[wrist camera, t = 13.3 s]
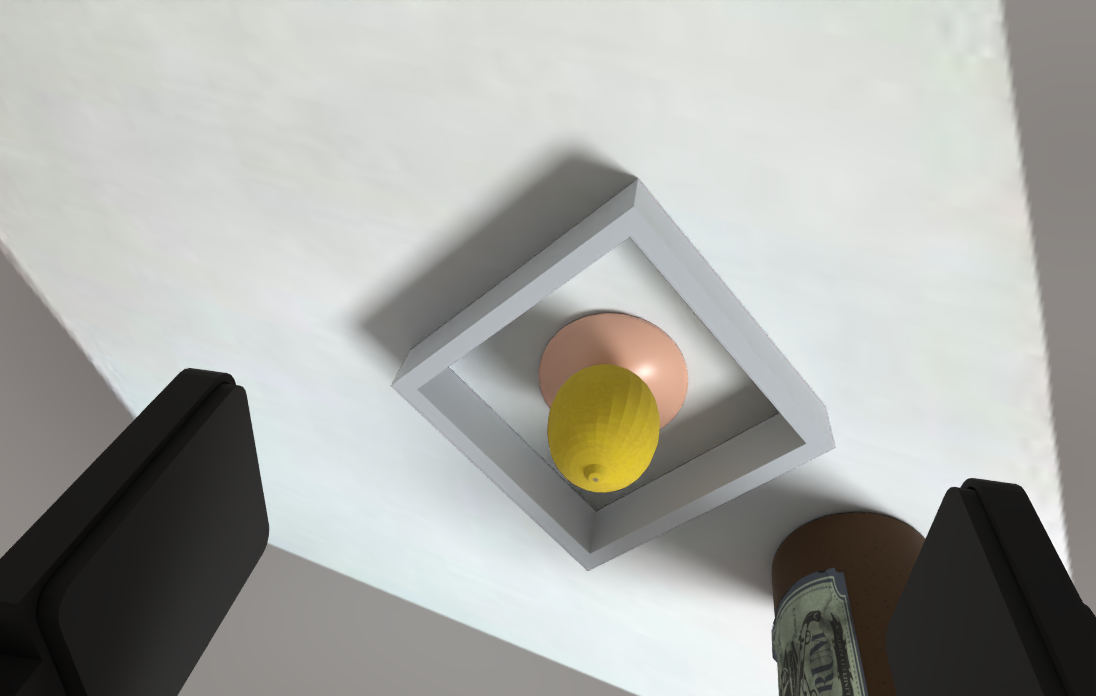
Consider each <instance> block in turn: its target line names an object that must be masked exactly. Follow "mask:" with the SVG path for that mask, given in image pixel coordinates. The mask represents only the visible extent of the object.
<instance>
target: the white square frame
mask: <svg viewBox="0 0 1096 696" xmlns="http://www.w3.org/2000/svg"><path fill="white" fill-rule="evenodd" d="M629 237H631V238H632V240H633V241H634V242H635V243H636V244H637V245H638V247H639V248H640V249H641V250H642V251H643V252H644V254H645V255H646V256H647V257H648V258H649V259H650V261H651V262H652V263H653V264H654V265H655V266H656V268H657V269H658V270H659V271H660V272H661V274H662V275H663V276H664V277H665V278H666V279H667V281H668V282H669V283H670V284H671V285H672V286H673V288H674V289H675V290H676V291H677V292H678V293H679V295H680V296H681V297H682V298H683V299H684V301H685V302H686V303H687V304H688V305H689V306H690V308H691V309H692V310H693V311H694V312H695V313H696V315H697V316H698V317H699V318H700V319H701V320H702V322H703V323H704V324H705V325H706V326H707V328H708V329H709V330H710V331H711V332H712V333H713V335H714V336H715V337H716V338H717V339H718V340H719V342H720V343H721V344H722V345H723V346H724V347H725V349H726V350H727V351H728V352H729V353H730V355H731V356H732V357H733V358H734V359H735V360H736V362H737V363H738V364H739V365H740V366H741V367H742V369H743V370H744V371H745V372H746V373H747V374H748V376H749V377H750V378H751V379H752V380H753V381H754V383H755V384H756V385H757V386H758V387H759V389H760V390H761V391H762V392H763V393H764V394H765V396H766V397H767V398H768V399H769V400H770V401H771V403H772V404H773V405H774V406H775V407H776V408H777V410H778V411H779V412H780V413H778V414H776V415H774V416H773V417H771V418H769V419H767V420H765V421H763V422H761V423H760V424H758V425H756V426H754V427H752V428H750V429H748V430H747V431H745V432H743V433H741V434H739V435H737V436H735V437H733V438H732V439H730V440H728V441H726V442H724V443H722V444H720V445H719V446H717V447H715V448H713V449H711V450H709V451H707V452H706V453H704V454H702V455H700V456H698V457H696V458H694V459H693V460H691V461H689V462H687V463H685V464H683V465H681V466H680V467H678V468H676V469H674V470H672V471H670V472H668V473H667V474H665V475H663V476H661V477H659V478H657V479H655V480H654V481H652V482H650V483H648V484H646V485H644V486H642V487H641V488H639V489H637V490H635V491H633V492H631V493H629V494H628V495H626V496H624V497H622V498H620V499H618V500H616V501H615V502H613V503H611V504H609V505H607V506H605V507H603V508H602V509H600V510H598V511H595V510H594V509H593V508H592V507H591V506H590V505H589V504H588V503H587V502H586V501H585V500H584V499H583V498H582V497H581V496H580V495H579V494H578V493H577V492H576V491H575V490H574V489H573V488H571V487H570V486H569V485H568V484H567V483H566V482H565V481H564V480H563V479H562V478H561V477H560V476H559V475H558V474H557V473H556V472H555V471H554V470H553V469H552V468H551V467H550V466H549V465H548V464H547V463H546V462H545V461H544V460H543V459H542V458H541V457H540V456H539V455H538V454H537V453H536V452H535V451H534V450H533V449H532V448H531V447H530V446H529V445H528V444H527V443H526V442H525V441H524V440H523V439H522V438H521V437H520V436H518V435H517V434H516V433H515V432H514V431H513V430H512V429H511V428H510V427H509V426H508V425H507V424H506V423H505V422H504V421H503V420H502V419H501V418H500V417H499V416H498V415H497V414H496V413H495V412H494V411H493V410H492V409H491V408H490V407H489V406H488V405H487V404H486V403H485V402H484V401H483V400H482V399H481V398H480V397H479V396H478V395H477V394H476V393H475V392H474V391H473V390H472V389H471V388H470V387H469V386H468V385H467V384H465V383H464V382H463V381H462V380H461V379H460V378H459V377H458V376H457V375H456V374H455V373H454V372H453V371H452V370H451V369H450V368H449V366H450V365H452V364H453V363H455V362H456V361H457V360H459V359H460V358H462V357H463V356H464V355H466V354H467V353H468V352H470V351H471V350H473V349H474V348H475V347H477V346H478V345H480V344H481V343H482V342H484V341H485V340H487V339H488V338H489V337H491V336H492V335H494V334H495V333H496V332H498V331H499V330H501V329H502V328H503V327H505V326H506V325H507V324H509V323H510V322H512V321H513V320H514V319H516V318H517V317H519V316H520V315H521V314H523V313H524V312H526V311H527V310H528V309H530V308H531V307H533V306H534V305H535V304H537V303H538V302H540V301H541V300H542V299H544V298H545V297H547V296H548V295H549V294H551V293H552V292H553V291H555V290H556V289H558V288H559V287H560V286H562V285H563V284H565V283H566V282H567V281H569V280H570V279H572V278H573V277H574V276H576V275H577V274H579V273H580V272H581V271H583V270H584V269H586V268H587V267H588V266H590V265H591V264H593V263H594V262H595V261H597V260H598V259H599V258H601V257H602V256H604V255H605V254H606V253H608V252H609V251H611V250H612V249H613V248H615V247H616V246H618V245H619V244H620V243H622V242H623V241H625V240H626V239H627V238H629ZM600 364H610V365H617V366H620V367H623V368H626V369H628V370H630V371H631V372H633V373H635V374H636V375H638V376H639V377H640V378H641V379H642V380H643V381H644V382H645V383H646V384H647V385H648V387H649V389H650V390H651V392H652V394H653V395H654V397H655V400H656V403H657V407H658V411H659V415H660V429H661V428H662V427H664V426H665V425H666V424H668V423H669V422H670V421H671V420H672V419H673V418H674V417H675V416H676V414H677V413H678V412H679V410H680V408H681V407H682V405H683V402H684V400H685V397H686V393H687V387H688V373H687V367H686V363H685V360H684V357H683V355H682V353H681V351H680V350H679V348H678V346H677V345H676V344H675V342H674V341H673V340H672V339H671V338H670V337H669V336H668V335H667V334H666V333H665V332H664V331H662V330H661V329H660V328H658V327H657V326H655V325H653V324H651V323H650V322H647V321H645V320H643V319H641V318H637V317H634V316H631V315H625V314H618V313H601V314H594V315H590V316H586V317H583V318H580V319H578V320H575V321H573V322H571V323H570V324H568V325H566V326H565V327H563V328H562V329H561V330H560V331H558V332H557V333H556V334H555V336H554V337H553V338H552V339H551V340H550V342H549V343H548V345H547V347H546V349H545V351H544V353H543V356H542V359H541V363H540V368H539V382H540V388H541V391H542V394H543V397H544V399H545V401H546V403H547V404H548V406H549V407H550V408H551V405H552V403H553V401H554V399H555V397H556V394H557V392H558V391H559V389H560V388H561V386H562V385H563V384H564V383H565V382H566V381H567V380H568V379H569V378H570V377H571V376H572V375H573V374H575V373H577V372H578V371H580V370H582V369H584V368H587V367H590V366H593V365H600ZM391 387H392V388H393V389H395V390H396V391H397V392H398V393H399V394H400V395H401V396H402V397H403V398H404V399H405V400H406V401H407V402H408V403H409V404H410V405H412V406H413V407H414V408H415V409H416V410H417V411H418V412H419V413H420V414H421V415H422V416H423V417H424V418H425V419H426V420H428V421H429V422H430V423H431V424H432V425H433V426H434V427H435V428H436V429H437V430H438V431H439V432H440V433H441V434H442V435H443V436H445V437H446V438H447V439H448V440H449V441H450V442H451V443H452V444H453V445H454V446H455V447H456V448H457V449H458V450H459V451H460V452H462V453H463V454H464V455H465V456H466V457H467V458H468V459H469V460H470V461H471V462H472V463H473V464H474V465H475V466H476V467H478V468H479V469H480V470H481V471H482V472H483V473H484V474H485V475H486V476H487V477H488V478H489V479H490V480H491V481H492V482H493V483H495V484H496V485H497V486H498V487H499V488H500V489H501V490H502V491H503V492H504V493H505V494H506V495H507V496H508V497H509V498H510V499H512V500H513V501H514V502H515V503H516V504H517V505H518V506H519V507H520V508H521V509H522V510H523V511H524V512H525V513H526V514H528V515H529V516H530V517H531V518H532V519H533V520H534V521H535V522H536V523H537V524H538V525H539V526H540V527H541V528H542V529H543V530H545V531H546V532H547V533H548V534H549V535H550V536H551V537H552V538H553V539H554V540H555V541H556V542H557V543H558V544H559V545H560V546H562V547H563V548H564V549H565V550H566V551H567V552H568V553H569V554H570V555H571V556H572V557H573V558H574V559H575V560H576V561H578V562H579V563H580V564H581V565H582V566H583V567H584V568H585V569H586V570H587V571H589V570H591V569H593V568H595V567H597V566H599V565H601V564H603V563H605V562H607V561H609V560H611V559H613V558H615V557H617V556H619V555H621V554H623V553H625V552H627V551H629V550H631V549H633V548H635V547H637V546H639V545H641V544H643V543H645V542H647V541H649V540H651V539H653V538H655V537H657V536H659V535H661V534H663V533H665V532H667V531H669V530H671V529H673V528H675V527H677V526H679V525H681V524H683V523H685V522H687V521H689V520H691V519H693V518H695V517H697V516H700V515H702V514H704V513H706V512H708V511H710V510H712V509H714V508H716V507H718V506H720V505H722V504H724V503H726V502H728V501H730V500H732V499H734V498H736V497H738V496H740V495H742V494H744V493H746V492H748V491H750V490H752V489H754V488H756V487H758V486H760V485H762V484H764V483H766V482H768V481H770V480H772V479H774V478H776V477H778V476H780V475H782V474H784V473H786V472H788V471H790V470H792V469H794V468H796V467H798V466H800V465H802V464H804V463H806V462H808V461H810V460H812V459H814V458H816V457H818V456H820V455H822V454H824V453H826V452H828V451H830V450H832V449H834V448H836V447H835V443H834V439H833V435H832V431H831V426H830V422H829V418H828V414H827V410H826V406H825V405H824V404H823V402H822V401H821V400H820V399H819V398H818V396H817V395H816V394H815V393H814V391H813V390H812V389H811V388H810V387H809V385H808V384H807V383H806V382H805V380H804V379H803V378H802V377H801V376H800V374H799V373H798V372H797V371H796V370H795V368H794V367H793V366H792V365H791V363H790V362H789V361H788V360H787V359H786V357H785V356H784V355H783V354H782V353H781V351H780V350H779V349H778V348H777V346H776V345H775V344H774V343H773V342H772V340H771V339H770V338H769V337H768V335H767V334H766V333H765V332H764V331H763V329H762V328H761V327H760V326H759V325H758V323H757V322H756V321H755V320H754V318H753V317H752V316H751V315H750V314H749V312H748V311H747V310H746V309H745V308H744V306H743V305H742V304H741V303H740V301H739V300H738V299H737V298H736V297H735V295H734V294H733V293H732V292H731V290H730V289H729V288H728V287H727V286H726V284H725V283H724V282H723V281H722V280H721V278H720V277H719V276H718V275H717V273H716V272H715V271H714V270H713V269H712V267H711V266H710V265H709V264H708V263H707V261H706V260H705V259H704V258H703V256H702V255H701V254H700V253H699V252H698V250H697V249H696V248H695V247H694V245H693V244H692V243H691V242H690V241H689V239H688V238H687V237H686V236H685V235H684V233H683V232H682V231H681V230H680V228H679V227H678V226H677V225H676V224H675V222H674V221H673V220H672V219H671V218H670V216H669V215H668V214H667V213H666V211H665V210H664V209H663V208H662V207H661V205H660V204H659V203H658V202H657V201H656V199H655V198H654V197H653V196H652V194H651V193H650V192H649V191H648V190H647V188H646V187H645V186H644V185H643V183H642V182H641V181H640V180H639V179H637V180H635V181H634V182H633V183H631V184H630V185H629V186H627V187H626V188H625V189H623V190H622V191H621V192H619V193H618V194H617V195H615V196H614V197H613V198H611V199H610V200H609V201H607V202H606V203H605V204H603V205H602V206H601V207H599V208H598V209H597V210H595V211H594V212H593V213H591V214H590V215H589V216H588V217H586V218H585V219H584V220H582V221H581V222H580V223H578V224H577V225H576V226H574V227H573V228H572V229H570V230H569V231H568V232H566V233H565V234H564V235H562V236H561V237H560V238H558V239H557V240H556V241H554V242H553V243H552V244H550V245H549V246H548V247H546V248H545V249H544V250H542V251H541V252H540V253H538V254H537V255H536V256H534V257H533V258H532V259H530V260H529V261H528V262H527V263H525V264H524V265H523V266H521V267H520V268H519V269H517V270H516V271H515V272H513V273H512V274H511V275H509V276H508V277H507V278H505V279H504V280H503V281H501V282H500V283H499V284H497V285H496V286H495V287H493V288H492V289H491V290H489V291H488V292H487V293H485V294H484V295H483V296H481V297H480V298H479V299H477V300H476V301H475V302H473V303H472V304H471V305H469V306H468V307H467V308H465V309H464V310H463V311H462V312H460V313H459V314H458V315H456V316H455V317H454V318H452V319H451V320H450V321H448V322H447V323H446V324H444V325H443V326H442V327H440V328H439V329H438V330H436V331H435V332H434V333H432V334H431V335H430V336H428V337H427V338H426V339H424V340H423V341H422V342H420V343H419V344H418V345H416V346H415V347H414V348H412V349H411V350H410V351H409V353H408V355H407V357H406V359H405V360H404V362H403V364H402V366H401V368H400V369H399V371H398V373H397V375H396V377H395V379H394V380H393V382H392V384H391Z"/></svg>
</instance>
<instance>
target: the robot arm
mask: <svg viewBox="0 0 1096 696" xmlns="http://www.w3.org/2000/svg"><path fill="white" fill-rule="evenodd" d="M268 537H269V523H268V517H267V511H266V505H265V499H264V493H263V488H262V482H261V476H260V470H259V464H258V458H257V452H256V447H255V441H254V435H253V429H252V423H251V417H250V412H249V406H248V400H247V395H246V391H245V389H244V388H243V387H242V386H239V385H236V383H235V380H234V378H233V377H232V376H231V375H230V374H228V373H222V372H215V371H208V370H201V369H194V368H188V369H184V370H183V371H182V372H180V373H179V374H178V375H177V376H176V377H175V378H174V379H173V380H172V381H171V382H170V383H169V384H168V385H167V387H166V388H165V389H164V390H163V391H162V392H161V393H160V394H159V395H158V396H157V397H156V398H155V399H154V400H153V401H152V402H151V403H150V404H149V405H148V406H147V407H146V408H145V409H144V410H143V411H142V412H141V413H140V415H139V416H138V417H137V418H136V419H135V420H134V421H133V422H132V423H131V424H130V425H129V426H128V427H127V428H126V429H125V430H124V431H123V432H122V433H121V434H120V435H119V436H118V437H117V438H116V440H114V441H113V443H112V444H111V445H110V446H109V447H108V448H107V449H106V450H105V451H104V452H103V453H102V454H101V455H100V456H99V457H98V458H97V459H96V460H95V461H94V462H93V463H92V464H91V466H89V468H87V469H86V470H85V472H84V473H83V474H82V475H81V476H80V477H79V478H78V479H77V480H76V481H75V482H74V483H73V484H72V485H71V486H70V487H69V488H68V489H67V490H66V491H65V492H64V493H63V494H62V496H60V497H59V499H58V500H57V501H56V502H55V503H54V504H53V505H52V506H51V507H50V508H49V509H48V510H47V511H46V512H45V513H44V514H43V515H42V516H41V517H40V518H39V519H38V520H37V521H36V522H35V523H34V524H33V526H31V528H30V529H29V530H28V531H27V532H26V533H25V534H24V535H23V536H22V537H21V538H20V539H19V540H18V541H17V542H16V543H15V544H14V545H13V546H12V547H11V548H10V549H9V550H8V551H7V552H6V553H5V555H4V556H3V557H2V558H1V559H0V696H177V695H178V694H179V692H180V690H181V689H182V687H183V685H184V683H185V682H186V680H187V678H188V677H189V675H190V674H191V672H192V670H193V669H194V667H195V665H196V664H197V662H198V660H199V659H200V657H201V655H202V654H203V652H204V651H205V649H206V647H207V646H208V644H209V642H210V641H211V639H212V637H213V636H214V634H215V632H216V630H217V629H218V627H219V626H220V624H221V622H222V621H223V619H224V617H225V616H226V614H227V612H228V611H229V609H230V607H231V606H232V604H233V602H234V601H235V599H236V597H237V596H238V594H239V592H240V591H241V589H242V587H243V586H244V584H245V582H246V581H247V579H248V577H249V576H250V574H251V572H252V571H253V569H254V567H255V566H256V564H257V562H258V560H259V559H260V557H261V556H262V554H263V552H264V550H265V548H266V545H267V542H268ZM886 651H887V656H888V660H889V665H890V669H891V673H892V677H893V681H894V685H895V689H896V693H897V696H1096V617H1095V615H1094V614H1093V612H1092V611H1091V609H1090V608H1089V607H1088V606H1087V605H1085V604H1084V603H1083V602H1082V600H1081V598H1080V596H1079V594H1078V592H1077V590H1076V588H1075V586H1074V585H1073V583H1072V581H1071V579H1070V577H1069V575H1068V573H1067V571H1066V569H1065V567H1064V565H1063V563H1062V561H1061V559H1060V558H1059V556H1058V554H1057V552H1056V550H1055V548H1054V546H1053V544H1052V542H1051V540H1050V538H1049V536H1048V534H1047V532H1046V530H1045V529H1044V527H1043V525H1042V523H1041V521H1040V519H1039V517H1038V515H1037V513H1036V511H1035V509H1034V507H1033V505H1032V503H1031V501H1030V500H1029V498H1028V496H1027V494H1026V492H1025V491H1024V489H1023V488H1022V487H1021V486H1019V485H1017V484H1012V483H1005V482H997V481H990V480H983V479H976V478H969V479H967V480H966V481H965V482H964V483H963V484H962V486H961V488H958V487H951V488H950V489H948V490H947V492H946V494H945V496H944V498H943V500H942V503H941V505H940V507H939V509H938V512H937V514H936V516H935V519H934V521H933V523H932V526H931V528H930V530H929V532H928V535H927V537H926V539H925V542H924V544H923V546H922V548H921V551H920V553H919V555H918V558H917V560H916V562H915V564H914V567H913V569H912V571H911V574H910V576H909V578H908V580H907V583H906V585H905V587H904V590H903V592H902V594H901V596H900V599H899V601H898V603H897V606H896V608H895V610H894V612H893V615H892V617H891V619H890V622H889V624H888V627H887V633H886Z"/></svg>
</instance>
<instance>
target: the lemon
mask: <svg viewBox="0 0 1096 696" xmlns="http://www.w3.org/2000/svg"><path fill="white" fill-rule="evenodd" d="M659 431H660V415H659V411H658V407H657V403H656V400H655V397H654V395H653V394H652V392H651V390H650V389H649V387H648V385H647V384H646V383H645V382H644V381H643V380H642V379H641V378H640V377H639V376H638V375H636V374H635V373H633V372H631V371H630V370H628V369H626V368H623V367H620V366H617V365H610V364H600V365H593V366H590V367H587V368H584V369H582V370H580V371H578V372H577V373H575V374H573V375H572V376H571V377H570V378H569V379H568V380H567V381H566V382H565V383H564V384H563V385H562V386H561V388H560V389H559V391H558V392H557V394H556V397H555V399H554V401H553V403H552V405H551V408H550V413H549V419H548V427H547V434H548V442H549V447H550V452H551V456H552V458H553V460H554V462H555V464H556V466H557V468H558V470H559V471H560V472H561V473H562V474H563V475H564V477H565V478H566V479H567V480H569V481H570V482H572V483H573V484H574V485H576V486H578V487H580V488H583V489H585V490H588V491H593V492H604V493H605V492H612V491H617V490H620V489H622V488H625V487H627V486H628V485H630V484H631V483H633V482H634V481H636V480H637V479H638V478H639V477H640V476H641V475H642V473H643V472H644V471H645V470H646V469H647V467H648V466H649V464H650V462H651V460H652V457H653V455H654V452H655V450H656V447H657V444H658V440H659Z"/></svg>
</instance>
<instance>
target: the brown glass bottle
mask: <svg viewBox="0 0 1096 696" xmlns="http://www.w3.org/2000/svg"><path fill="white" fill-rule="evenodd" d="M924 542H925V538H924V537H923V536H922V535H921V534H920V533H919V532H918V531H916V530H915V529H914V528H912V527H911V526H909V525H907V524H905V523H903V522H901V521H899V520H896V519H893V518H890V517H887V516H883V515H878V514H871V513H842V514H835V515H830V516H826V517H823V518H820V519H817V520H814V521H812V522H810V523H808V524H806V525H804V526H802V527H800V528H799V529H797V530H796V531H794V532H793V533H792V534H790V535H789V536H788V537H787V538H786V539H785V540H784V541H783V543H782V544H781V545H780V547H779V548H778V550H777V552H776V554H775V556H774V560H773V564H772V586H773V599H774V612H775V619H774V622H773V624H774V626H772V628H773V630H771V632H772V654H773V658H774V660H775V661H776V662H777V666H778V686H779V696H897V693H896V689H895V685H894V681H893V677H892V673H891V669H890V665H889V660H888V656H887V651H886V633H887V627H888V624H889V622H890V619H891V617H892V615H893V612H894V610H895V608H896V606H897V603H898V601H899V599H900V596H901V594H902V592H903V590H904V587H905V585H906V583H907V580H908V578H909V576H910V574H911V571H912V569H913V567H914V564H915V562H916V560H917V558H918V555H919V553H920V551H921V548H922V546H923V544H924Z"/></svg>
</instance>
